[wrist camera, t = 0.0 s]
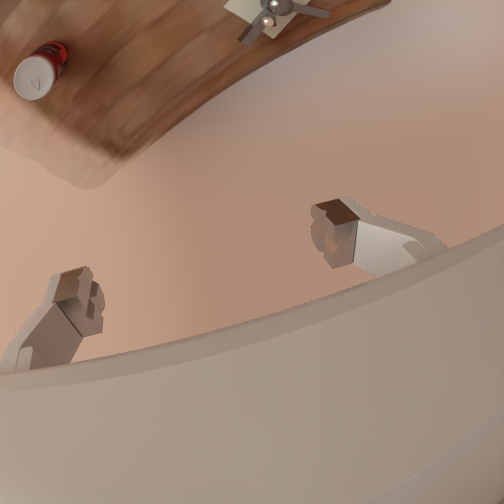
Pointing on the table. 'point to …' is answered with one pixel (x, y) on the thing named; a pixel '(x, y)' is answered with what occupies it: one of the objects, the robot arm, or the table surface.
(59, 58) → the canned food
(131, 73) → the table surface
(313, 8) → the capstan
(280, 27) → the stand plate
